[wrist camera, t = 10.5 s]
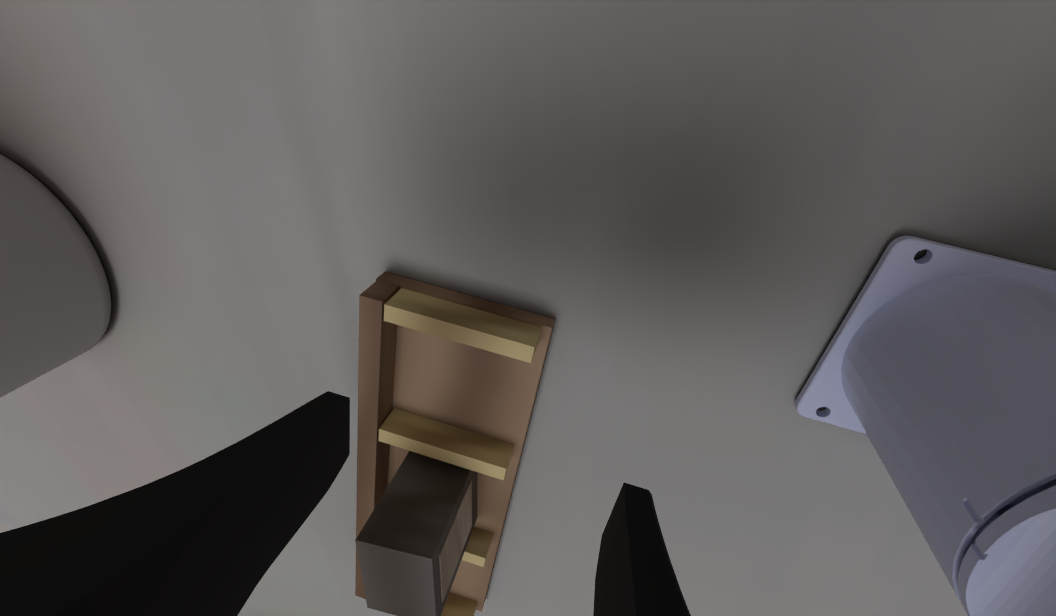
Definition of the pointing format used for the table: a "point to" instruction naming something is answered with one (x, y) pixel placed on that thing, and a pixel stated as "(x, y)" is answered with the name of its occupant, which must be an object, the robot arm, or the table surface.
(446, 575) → the black box
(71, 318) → the cylinder vase
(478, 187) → the table surface
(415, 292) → the rack
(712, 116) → the table surface
